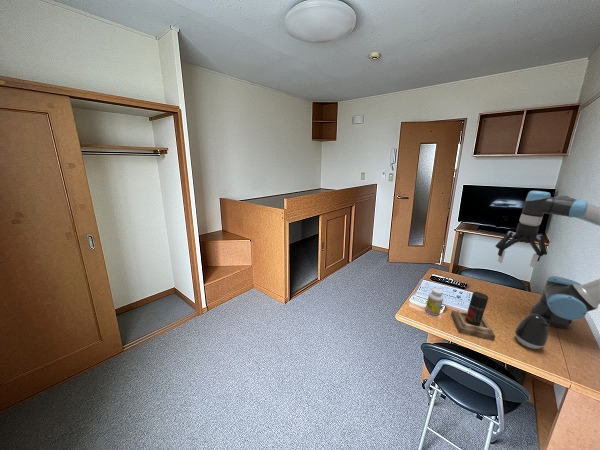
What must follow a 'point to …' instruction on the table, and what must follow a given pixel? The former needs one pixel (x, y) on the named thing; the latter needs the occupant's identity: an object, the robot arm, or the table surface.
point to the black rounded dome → (533, 331)
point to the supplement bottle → (434, 302)
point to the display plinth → (472, 326)
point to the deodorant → (476, 308)
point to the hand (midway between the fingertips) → (515, 264)
